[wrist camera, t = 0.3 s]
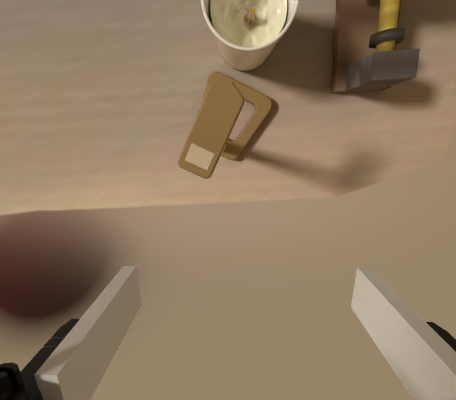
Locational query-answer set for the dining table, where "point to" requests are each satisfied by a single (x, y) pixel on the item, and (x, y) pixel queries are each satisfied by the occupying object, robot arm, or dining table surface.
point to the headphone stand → (221, 124)
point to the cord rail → (370, 46)
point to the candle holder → (247, 28)
